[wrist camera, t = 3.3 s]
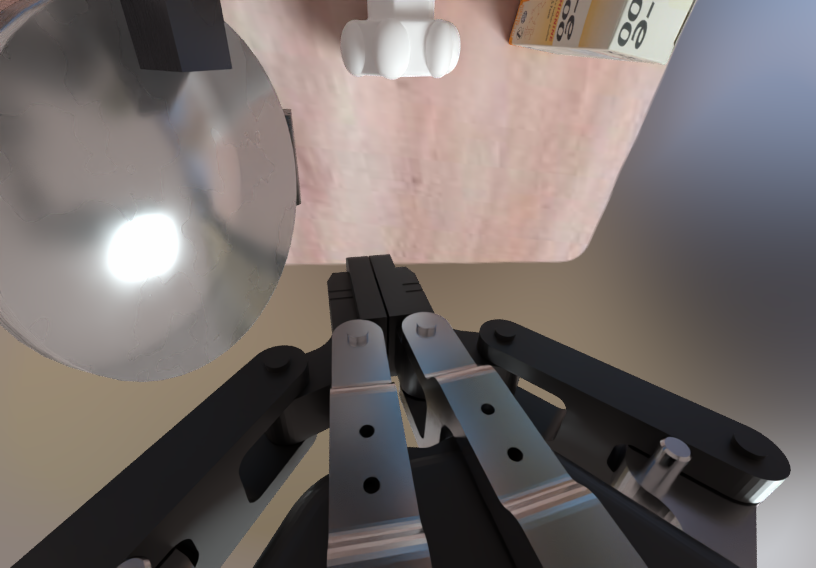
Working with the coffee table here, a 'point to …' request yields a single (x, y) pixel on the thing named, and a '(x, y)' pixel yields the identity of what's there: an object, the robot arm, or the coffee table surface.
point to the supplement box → (602, 28)
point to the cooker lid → (138, 184)
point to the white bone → (400, 41)
